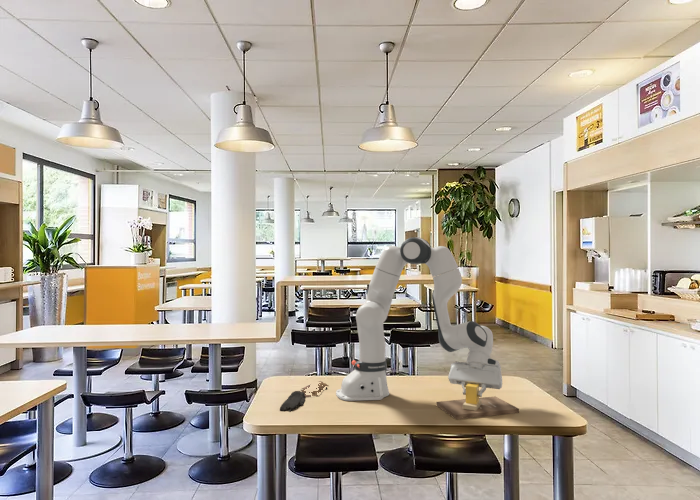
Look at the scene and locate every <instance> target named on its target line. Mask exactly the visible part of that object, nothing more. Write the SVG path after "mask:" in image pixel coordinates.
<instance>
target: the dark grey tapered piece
mask: <svg viewBox="0 0 700 500" xmlns="http://www.w3.org/2000/svg"><path fill="white" fill-rule="evenodd" d="M306 398H307V397H306V396H305V394H304V393H303V392H302V390H295V391H292V392H291V394H290V395H289V396H288V397H287V398H286V399H285V400H284V401H283V402H282V404H281V405H280V408H279V411H281V412H287V411H288V412H292V411H294V410H296V409H297V407H298V406H301V407H302V406H303V405H305V402H306Z"/></svg>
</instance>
